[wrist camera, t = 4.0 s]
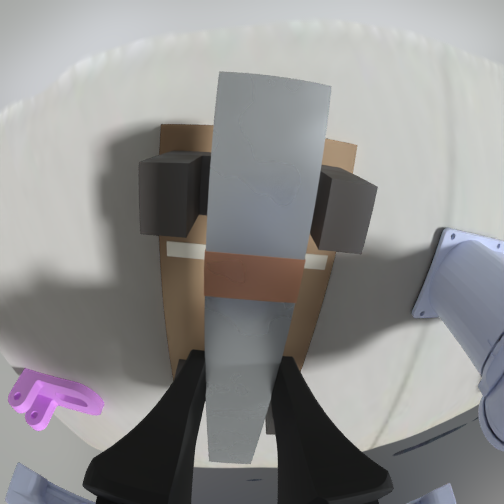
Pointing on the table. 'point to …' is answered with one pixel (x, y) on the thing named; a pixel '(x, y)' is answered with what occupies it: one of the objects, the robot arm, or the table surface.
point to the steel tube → (256, 244)
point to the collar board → (195, 227)
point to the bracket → (50, 397)
